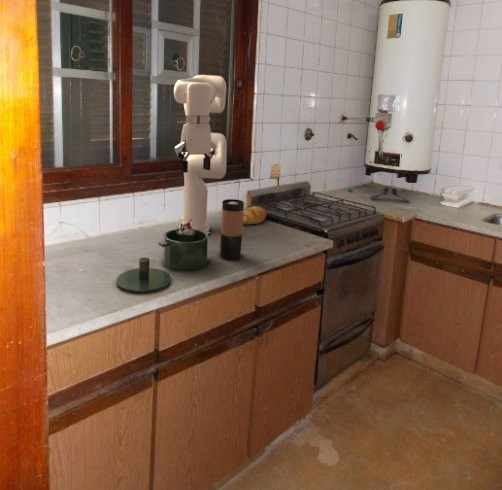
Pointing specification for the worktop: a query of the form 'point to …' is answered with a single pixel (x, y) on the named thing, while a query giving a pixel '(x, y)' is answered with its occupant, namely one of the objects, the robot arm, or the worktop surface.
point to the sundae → (186, 233)
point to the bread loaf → (254, 215)
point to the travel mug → (231, 229)
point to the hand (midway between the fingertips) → (195, 170)
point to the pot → (185, 251)
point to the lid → (143, 278)
